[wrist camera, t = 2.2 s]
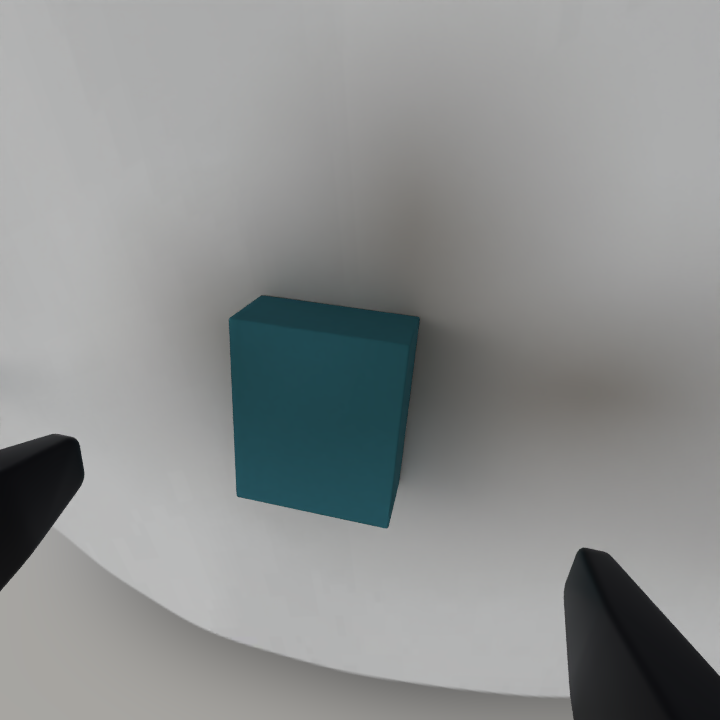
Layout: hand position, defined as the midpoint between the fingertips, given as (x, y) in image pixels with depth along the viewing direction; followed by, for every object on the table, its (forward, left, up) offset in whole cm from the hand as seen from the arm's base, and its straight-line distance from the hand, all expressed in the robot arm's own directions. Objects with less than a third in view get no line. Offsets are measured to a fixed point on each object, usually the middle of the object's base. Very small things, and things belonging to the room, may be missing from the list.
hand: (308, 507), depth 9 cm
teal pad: (-4, +3, -12) cm, 13 cm away
